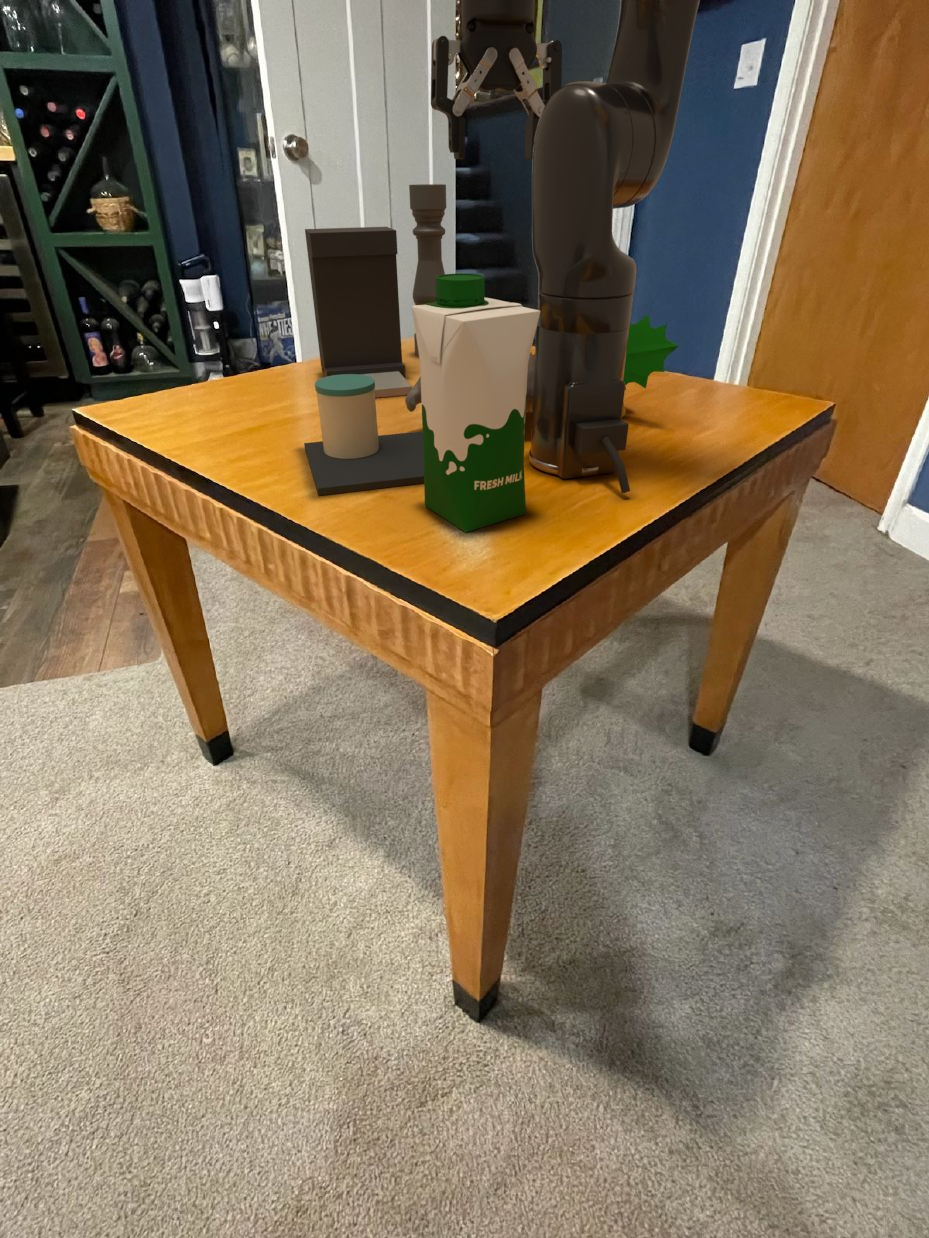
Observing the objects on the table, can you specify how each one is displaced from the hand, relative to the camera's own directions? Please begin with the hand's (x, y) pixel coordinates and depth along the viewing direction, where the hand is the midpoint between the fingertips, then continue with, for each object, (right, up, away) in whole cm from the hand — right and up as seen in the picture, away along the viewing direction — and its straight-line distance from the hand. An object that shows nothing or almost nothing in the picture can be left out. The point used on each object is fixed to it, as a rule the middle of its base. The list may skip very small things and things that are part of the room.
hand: (495, 159), depth 78 cm
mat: (-14, -35, -2) cm, 38 cm away
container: (-16, -33, 0) cm, 37 cm away
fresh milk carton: (-3, -42, -12) cm, 44 cm away
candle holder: (-9, -6, +42) cm, 43 cm away
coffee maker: (-18, -16, +26) cm, 36 cm away
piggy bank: (0, -27, +10) cm, 29 cm away
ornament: (+14, -25, +14) cm, 32 cm away
